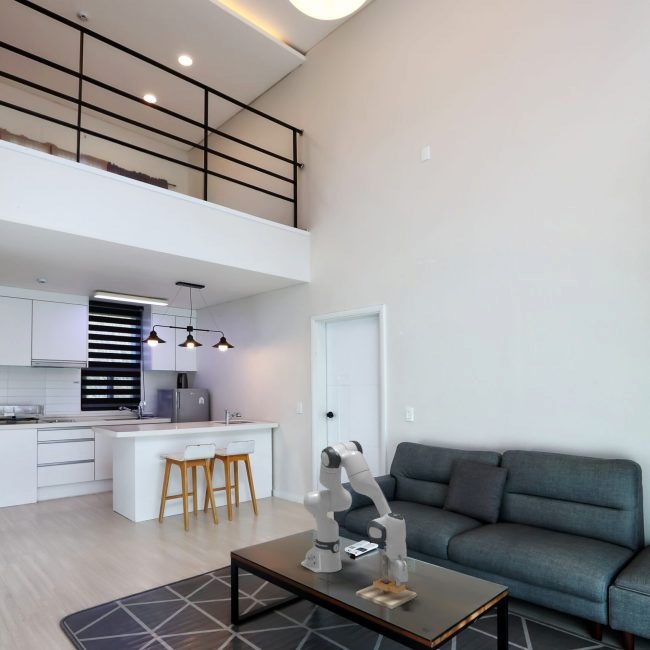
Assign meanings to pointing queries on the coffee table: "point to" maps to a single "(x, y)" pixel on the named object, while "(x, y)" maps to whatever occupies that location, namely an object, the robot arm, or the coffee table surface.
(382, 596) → the pipe stand
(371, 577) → the coffee table surface
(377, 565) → the coffee table surface
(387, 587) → the collar
